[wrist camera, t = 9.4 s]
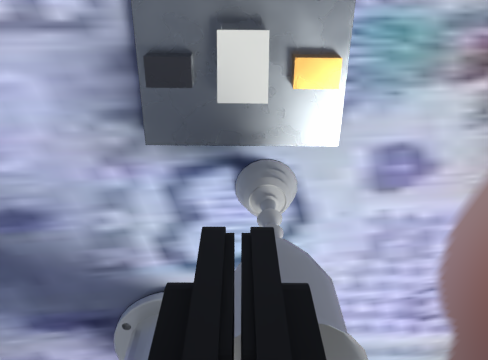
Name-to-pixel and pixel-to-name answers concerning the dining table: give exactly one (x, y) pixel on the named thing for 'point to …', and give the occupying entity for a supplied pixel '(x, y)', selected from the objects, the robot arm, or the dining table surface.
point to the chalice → (290, 257)
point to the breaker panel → (205, 71)
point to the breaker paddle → (242, 66)
